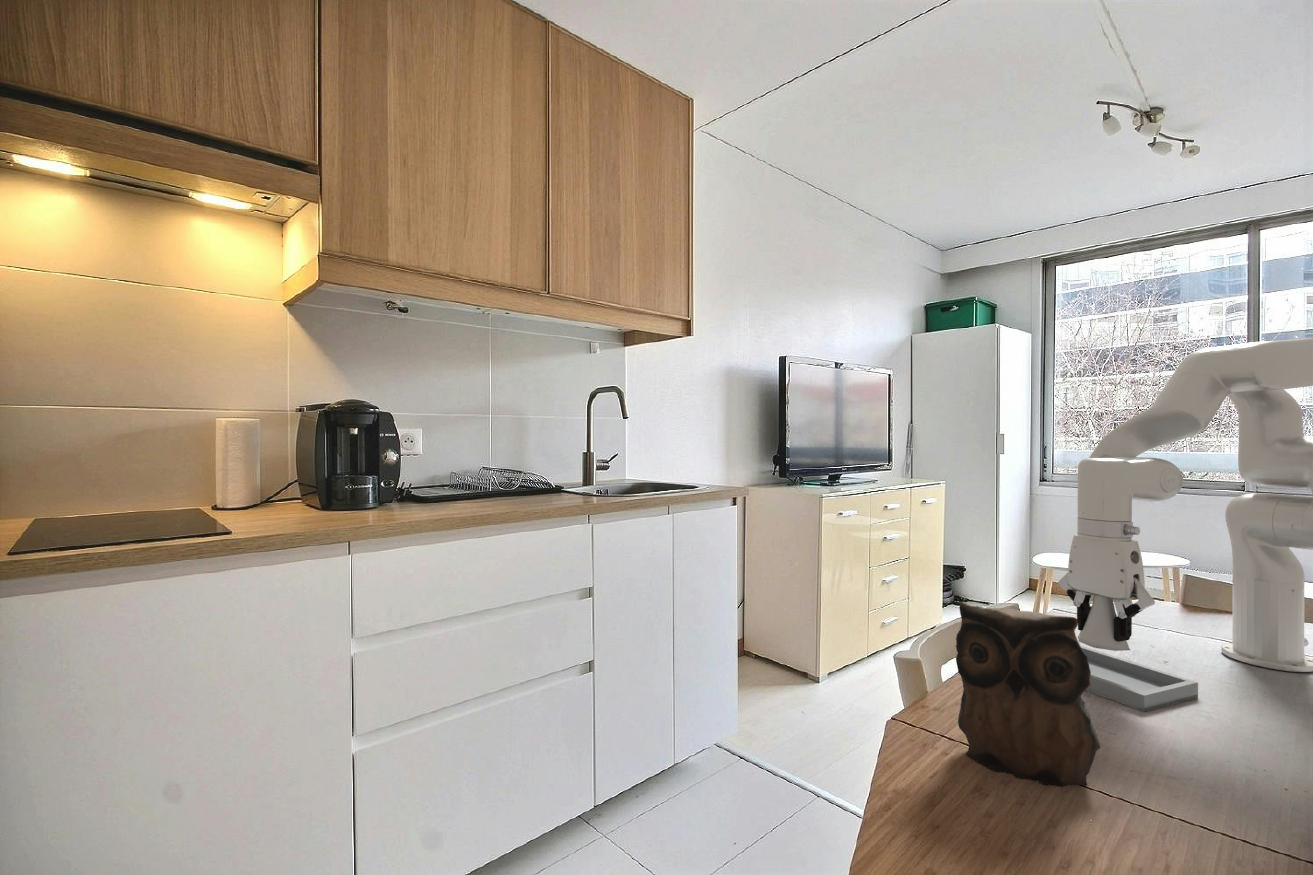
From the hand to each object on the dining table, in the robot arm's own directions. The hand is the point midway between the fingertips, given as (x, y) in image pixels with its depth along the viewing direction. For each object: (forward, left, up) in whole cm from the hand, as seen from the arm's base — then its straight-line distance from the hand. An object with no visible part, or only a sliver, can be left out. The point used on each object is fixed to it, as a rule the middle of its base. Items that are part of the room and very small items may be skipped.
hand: (1103, 633), depth 102 cm
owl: (+37, +13, -8) cm, 40 cm away
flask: (0, 0, -2) cm, 2 cm away
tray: (0, 0, -8) cm, 8 cm away
